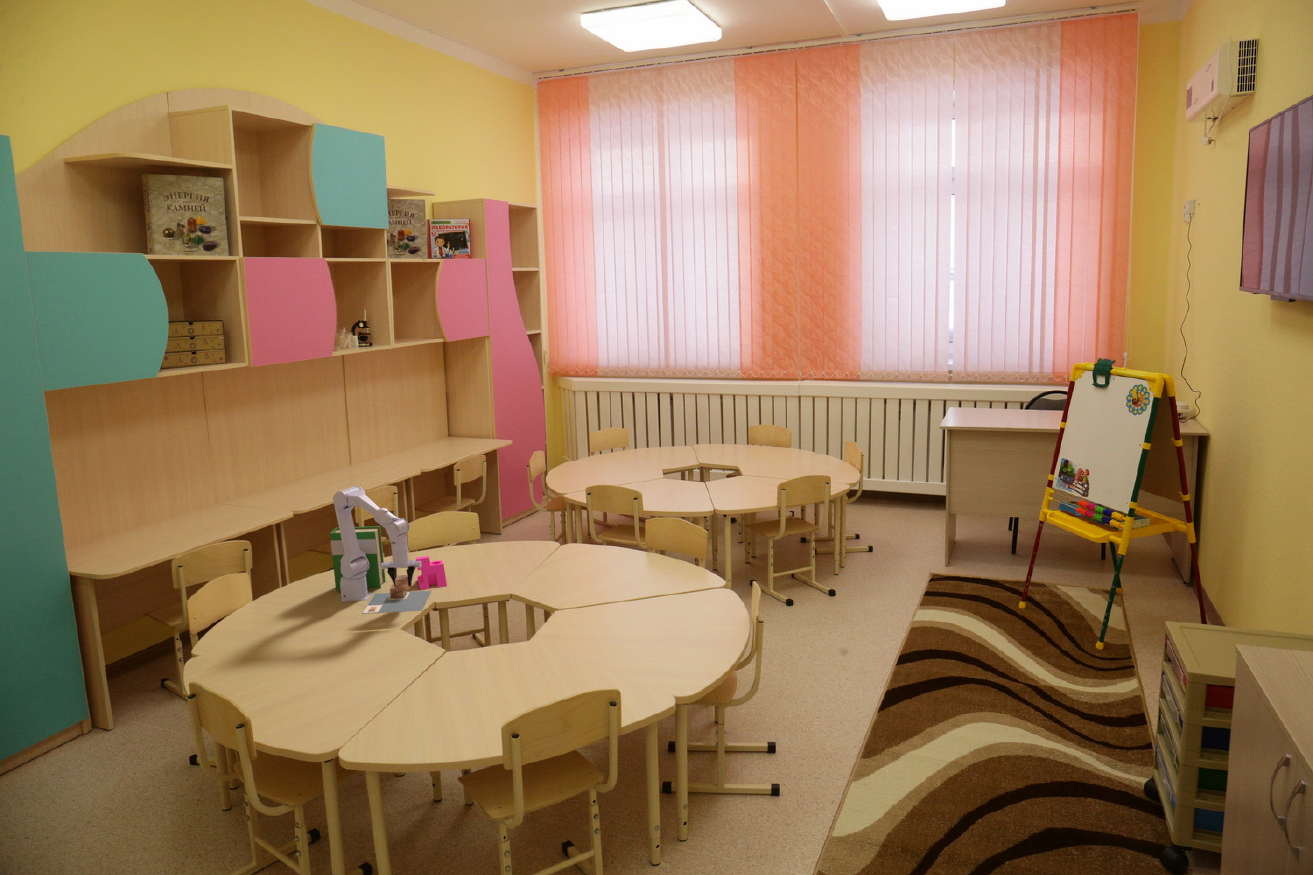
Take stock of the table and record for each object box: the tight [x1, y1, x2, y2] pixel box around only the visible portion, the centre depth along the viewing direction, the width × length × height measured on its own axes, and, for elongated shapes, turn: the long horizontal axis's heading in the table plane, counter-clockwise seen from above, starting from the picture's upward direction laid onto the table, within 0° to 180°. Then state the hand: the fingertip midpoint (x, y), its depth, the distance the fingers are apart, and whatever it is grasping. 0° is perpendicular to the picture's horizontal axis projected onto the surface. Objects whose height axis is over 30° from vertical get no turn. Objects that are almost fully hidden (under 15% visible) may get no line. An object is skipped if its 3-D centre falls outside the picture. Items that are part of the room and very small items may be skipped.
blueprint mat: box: [361, 590, 432, 615], centre depth 339 cm, size 22×20×1 cm
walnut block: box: [389, 583, 408, 599], centre depth 345 cm, size 5×5×4 cm
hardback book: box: [329, 525, 387, 592], centre depth 356 cm, size 18×7×24 cm, turn 90°
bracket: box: [415, 555, 448, 591], centre depth 357 cm, size 12×10×10 cm
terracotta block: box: [395, 574, 411, 592], centre depth 334 cm, size 4×4×4 cm
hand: (403, 585), depth 334 cm, fingers closed on terracotta block, 4 cm apart
